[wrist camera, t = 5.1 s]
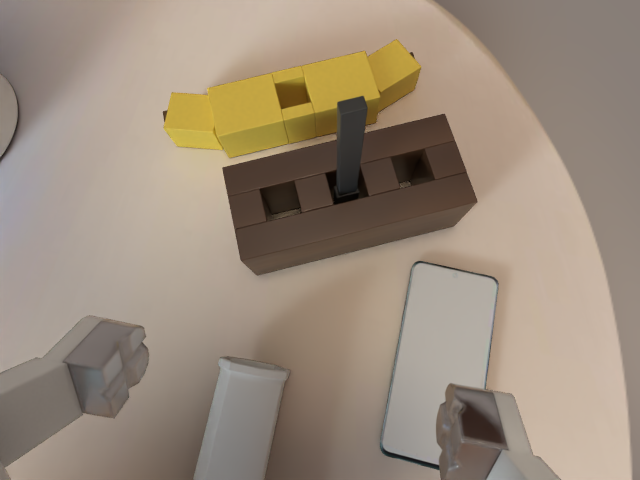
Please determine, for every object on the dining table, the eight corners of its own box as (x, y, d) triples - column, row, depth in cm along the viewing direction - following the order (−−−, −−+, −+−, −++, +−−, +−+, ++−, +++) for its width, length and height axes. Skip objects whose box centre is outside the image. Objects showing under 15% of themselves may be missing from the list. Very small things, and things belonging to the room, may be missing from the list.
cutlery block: (454, 226, 35) (478, 201, 29) (256, 275, 34) (240, 260, 28) (427, 150, 37) (444, 113, 31) (240, 196, 36) (222, 167, 30)
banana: (424, 111, 38) (434, 84, 34) (179, 170, 37) (161, 149, 33) (405, 60, 39) (413, 28, 35) (170, 115, 39) (152, 90, 35)
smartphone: (378, 453, 30) (413, 259, 33) (377, 452, 30) (412, 260, 34) (474, 479, 29) (499, 278, 33) (471, 477, 30) (497, 279, 33)
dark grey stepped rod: (336, 218, 35) (337, 117, 20) (333, 208, 36) (332, 100, 20) (356, 213, 35) (372, 109, 20) (353, 203, 36) (367, 92, 20)
